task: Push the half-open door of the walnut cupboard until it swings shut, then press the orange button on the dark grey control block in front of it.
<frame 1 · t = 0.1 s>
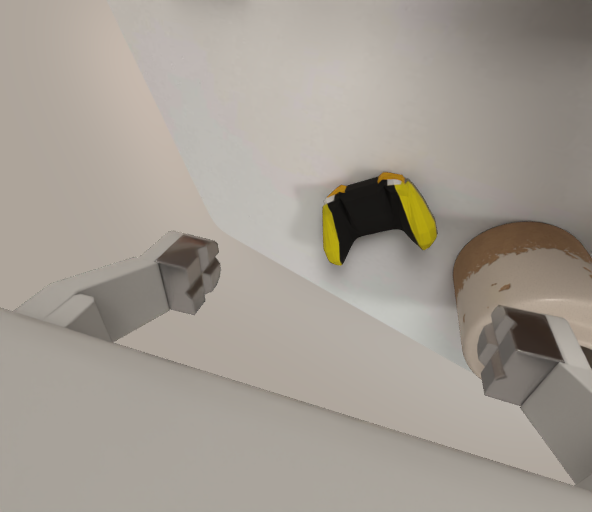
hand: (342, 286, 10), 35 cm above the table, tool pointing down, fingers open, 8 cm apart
vase: (514, 269, 45), on the table
gaming controller: (373, 209, 46), on the table
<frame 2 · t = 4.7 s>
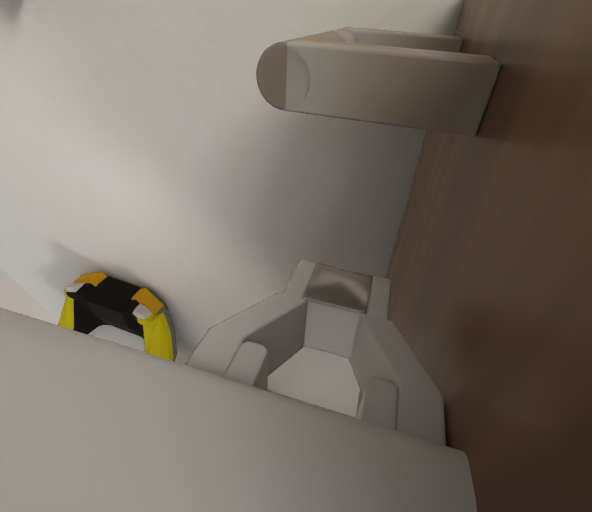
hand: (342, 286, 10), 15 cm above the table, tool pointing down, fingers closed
cupboard door: (338, 330, 16), point 12 cm above the table, hinge at 34.4°, touching gripper
gaming controller: (133, 305, 42), on the table
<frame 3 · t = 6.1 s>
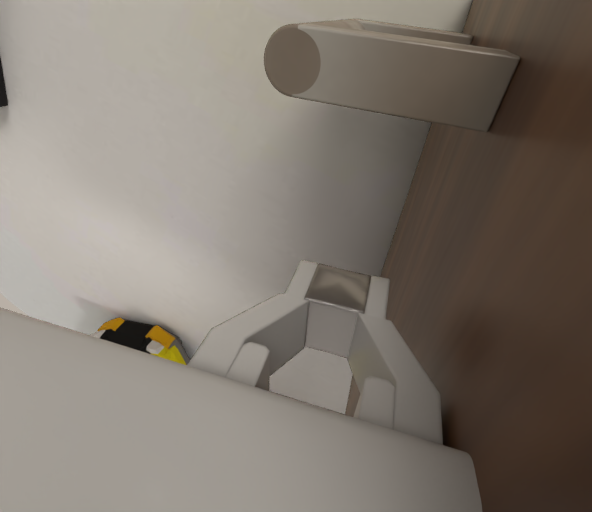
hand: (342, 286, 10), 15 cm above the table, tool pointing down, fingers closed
cupboard door: (333, 327, 15), point 12 cm above the table, hinge at 17.8°, touching gripper
gaming controller: (154, 343, 45), on the table
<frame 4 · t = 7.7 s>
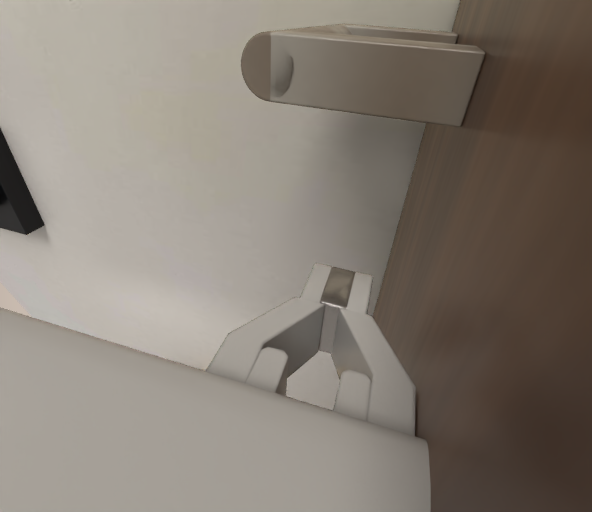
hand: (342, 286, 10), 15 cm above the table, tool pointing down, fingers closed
cupboard door: (330, 328, 16), point 12 cm above the table, hinge at -0.2°, touching gripper
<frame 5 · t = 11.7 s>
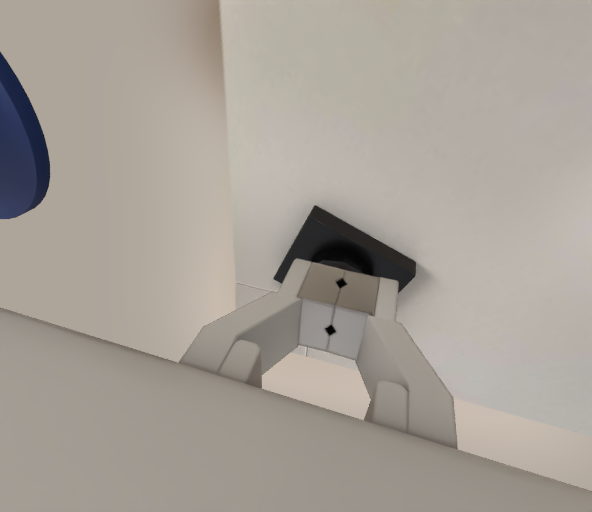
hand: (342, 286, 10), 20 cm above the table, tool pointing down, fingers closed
control block: (342, 264, 34), on the table
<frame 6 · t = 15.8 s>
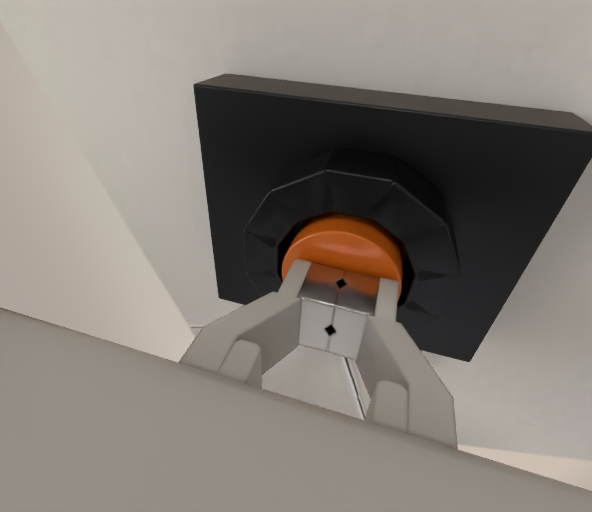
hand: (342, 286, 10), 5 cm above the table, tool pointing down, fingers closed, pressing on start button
control block: (358, 213, 13), on the table
start button: (343, 266, 11), point 4 cm above the table, slide at -0.8 cm, touching gripper
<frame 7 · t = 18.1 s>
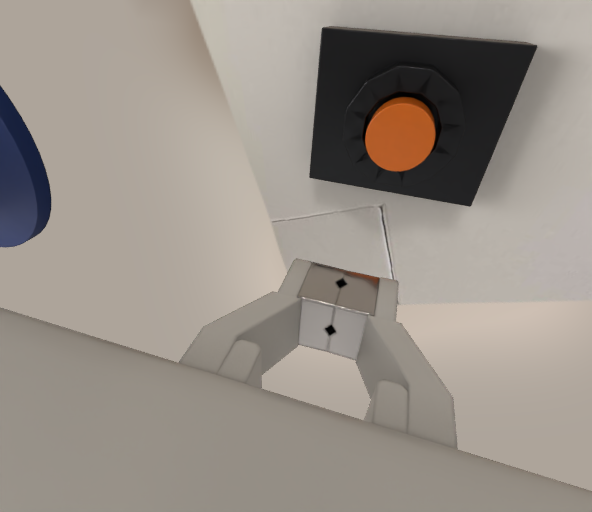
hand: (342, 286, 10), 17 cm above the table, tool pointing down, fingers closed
control block: (403, 115, 22), on the table
start button: (399, 134, 19), point 4 cm above the table, slide at 0.1 cm
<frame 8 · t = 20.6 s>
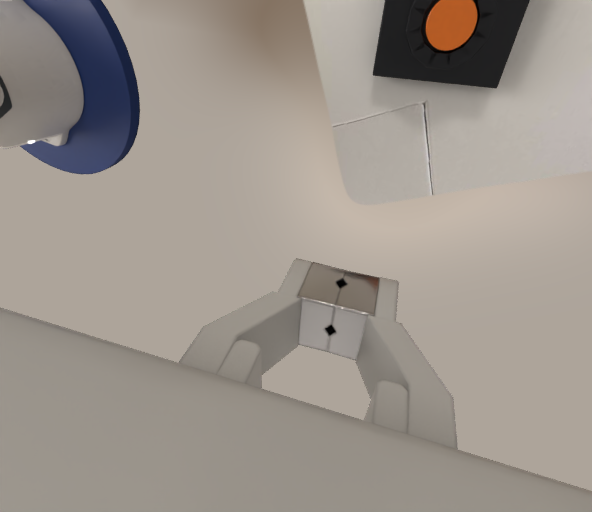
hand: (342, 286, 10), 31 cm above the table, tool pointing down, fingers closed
control block: (446, 21, 30), on the table
start button: (450, 22, 26), point 4 cm above the table, slide at 0.1 cm
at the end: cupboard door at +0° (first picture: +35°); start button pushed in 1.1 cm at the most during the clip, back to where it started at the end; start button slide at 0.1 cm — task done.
